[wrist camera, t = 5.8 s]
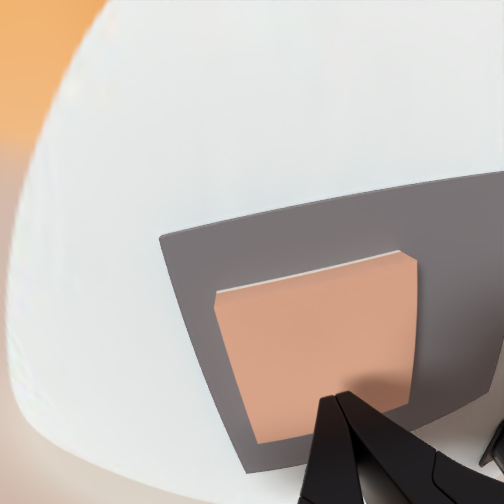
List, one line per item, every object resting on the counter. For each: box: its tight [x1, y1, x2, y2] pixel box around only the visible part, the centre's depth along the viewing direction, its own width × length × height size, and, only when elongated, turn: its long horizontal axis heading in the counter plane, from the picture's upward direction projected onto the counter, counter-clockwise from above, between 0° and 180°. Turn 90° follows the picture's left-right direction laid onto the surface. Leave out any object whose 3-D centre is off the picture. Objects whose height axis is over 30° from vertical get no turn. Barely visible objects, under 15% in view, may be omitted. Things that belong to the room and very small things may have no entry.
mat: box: [159, 171, 504, 474], centre depth 10 cm, size 12×14×1 cm
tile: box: [214, 250, 417, 444], centre depth 9 cm, size 6×1×6 cm
